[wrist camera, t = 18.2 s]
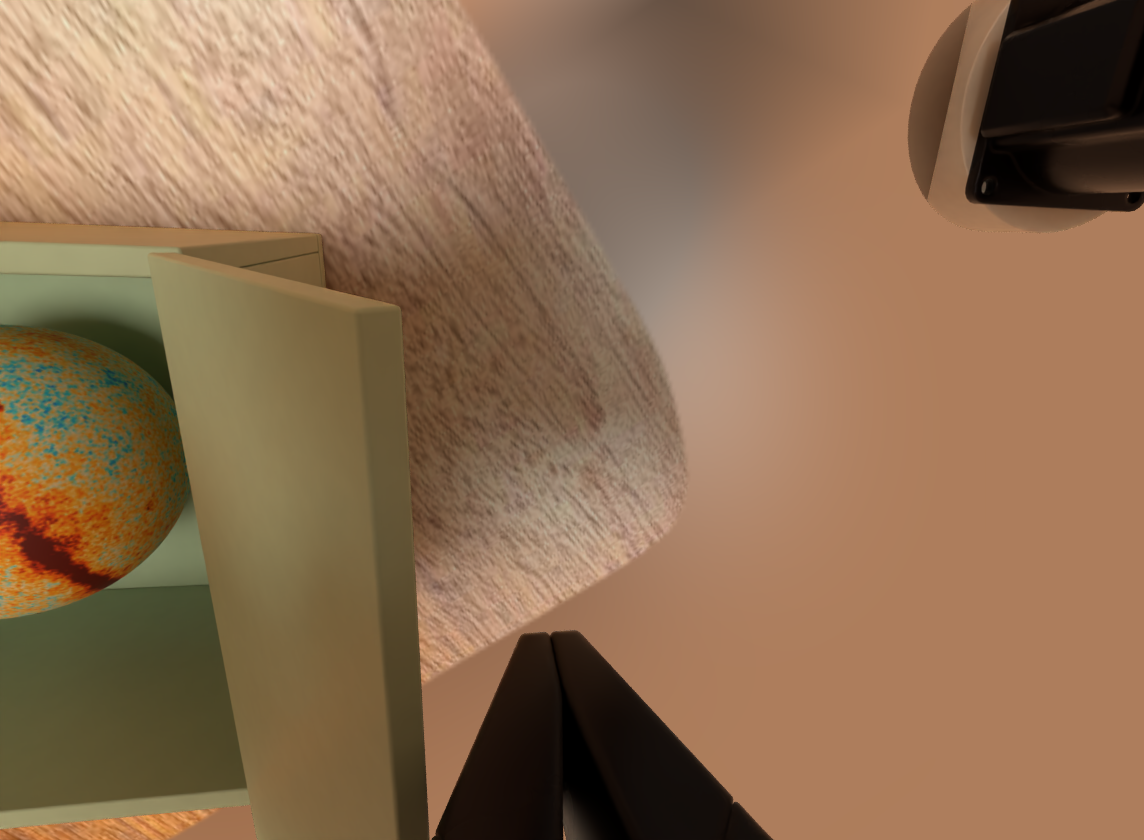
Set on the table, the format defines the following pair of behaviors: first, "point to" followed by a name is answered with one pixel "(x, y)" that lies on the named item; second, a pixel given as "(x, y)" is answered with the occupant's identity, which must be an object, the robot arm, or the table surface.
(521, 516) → the table surface
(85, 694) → the carton
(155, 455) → the ball
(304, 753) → the flap
